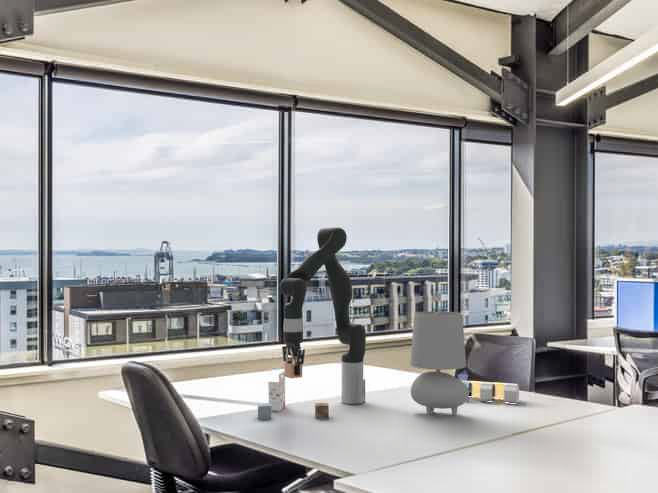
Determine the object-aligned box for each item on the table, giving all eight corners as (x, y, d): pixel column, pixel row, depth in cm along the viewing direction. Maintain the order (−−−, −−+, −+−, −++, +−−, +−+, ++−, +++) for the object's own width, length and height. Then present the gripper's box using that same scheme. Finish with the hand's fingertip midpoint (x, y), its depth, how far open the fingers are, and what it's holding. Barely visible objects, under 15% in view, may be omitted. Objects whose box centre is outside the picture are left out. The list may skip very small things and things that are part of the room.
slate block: (271, 416, 281) (271, 403, 281) (271, 419, 276) (271, 406, 276) (258, 416, 280) (258, 403, 280) (257, 419, 275) (257, 406, 275)
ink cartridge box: (273, 406, 299) (273, 370, 299) (285, 406, 298) (285, 370, 298) (267, 410, 290) (267, 373, 290) (279, 411, 289) (279, 374, 289)
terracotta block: (295, 375, 282) (295, 362, 282) (302, 377, 278) (302, 364, 278) (284, 376, 279) (284, 363, 279) (290, 378, 275) (290, 365, 275)
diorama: (456, 401, 310) (456, 370, 310) (460, 396, 320) (460, 367, 320) (516, 405, 301) (516, 374, 302) (518, 400, 311) (518, 370, 311)
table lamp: (475, 411, 289) (474, 310, 289) (461, 422, 269) (461, 315, 270) (419, 406, 298) (419, 309, 299) (402, 417, 279) (402, 312, 279)
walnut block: (327, 415, 281) (327, 402, 282) (328, 418, 276) (328, 405, 277) (315, 415, 281) (315, 403, 281) (315, 418, 276) (315, 405, 276)
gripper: (311, 331, 275) (311, 376, 275) (292, 327, 287) (292, 371, 287) (293, 332, 271) (294, 378, 271) (275, 329, 283) (275, 372, 283)
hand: (293, 374), depth 279 cm, fingers closed on terracotta block, 5 cm apart
